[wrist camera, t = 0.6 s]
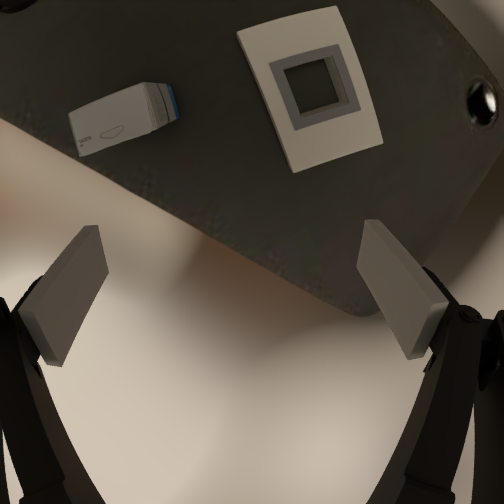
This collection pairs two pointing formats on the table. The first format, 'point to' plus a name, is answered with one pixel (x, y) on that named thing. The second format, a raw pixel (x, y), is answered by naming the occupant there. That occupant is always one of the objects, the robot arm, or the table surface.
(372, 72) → the table surface
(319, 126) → the port
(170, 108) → the ink box
